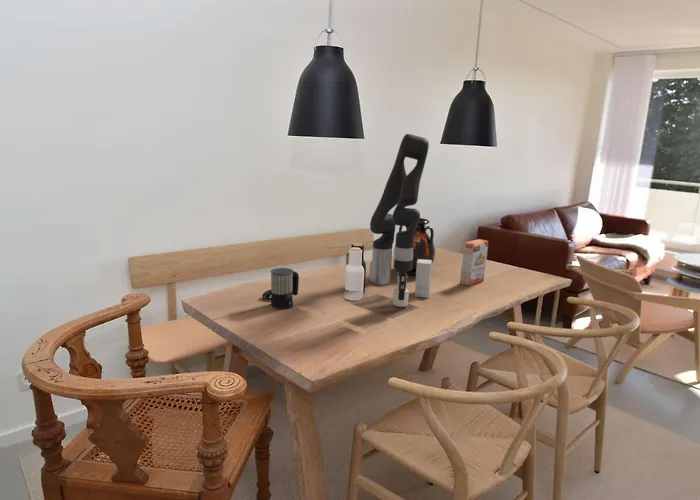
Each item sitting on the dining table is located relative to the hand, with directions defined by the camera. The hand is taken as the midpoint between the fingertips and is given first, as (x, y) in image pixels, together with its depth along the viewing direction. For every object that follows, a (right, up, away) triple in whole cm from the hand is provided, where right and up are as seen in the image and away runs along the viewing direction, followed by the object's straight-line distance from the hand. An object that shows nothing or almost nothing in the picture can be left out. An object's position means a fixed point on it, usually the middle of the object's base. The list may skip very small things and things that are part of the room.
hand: (400, 296), depth 193 cm
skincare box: (+12, -1, +21) cm, 24 cm away
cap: (0, -3, +1) cm, 3 cm away
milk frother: (-51, -3, +4) cm, 51 cm away
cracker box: (+40, +3, +42) cm, 58 cm away
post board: (-7, -5, +2) cm, 9 cm away
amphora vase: (+12, +7, +56) cm, 58 cm away
